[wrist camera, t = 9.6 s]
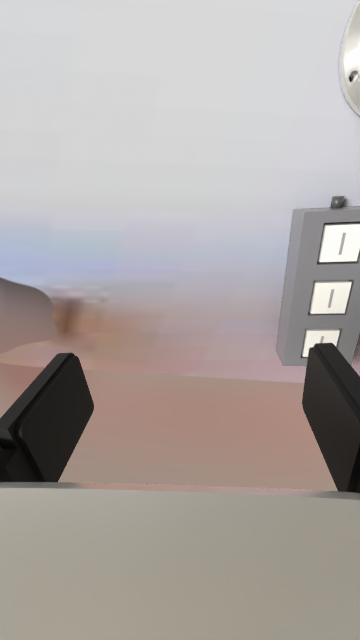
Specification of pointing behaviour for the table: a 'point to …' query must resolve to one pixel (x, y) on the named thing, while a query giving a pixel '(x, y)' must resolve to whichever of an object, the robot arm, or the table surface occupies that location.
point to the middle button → (329, 296)
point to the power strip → (301, 279)
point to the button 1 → (318, 338)
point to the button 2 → (339, 242)
